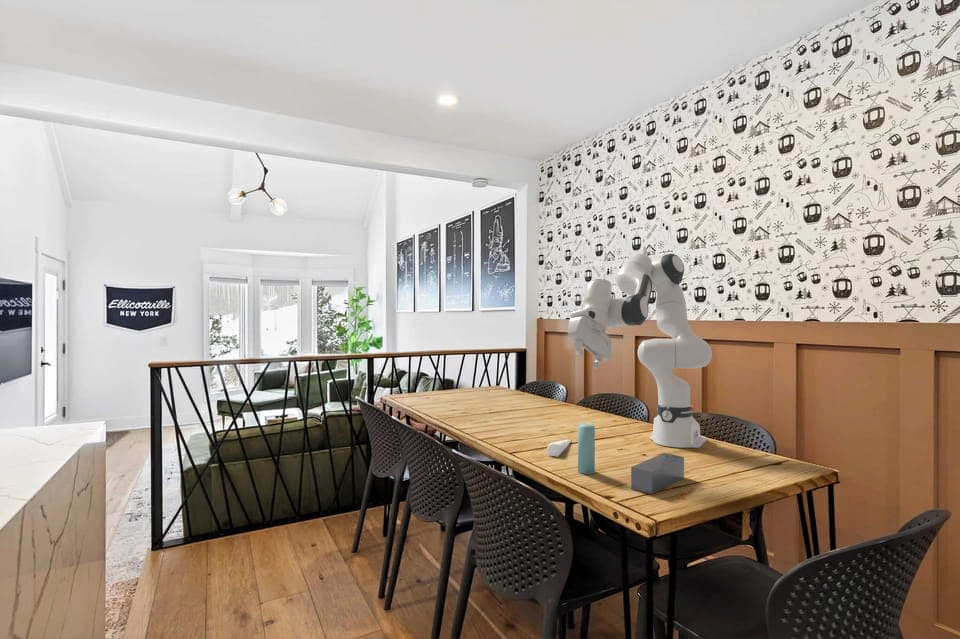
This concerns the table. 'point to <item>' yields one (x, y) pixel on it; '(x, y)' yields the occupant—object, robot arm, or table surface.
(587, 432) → the teal post
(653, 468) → the gray block
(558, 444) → the unicorn horn
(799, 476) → the table surface
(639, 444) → the table surface
